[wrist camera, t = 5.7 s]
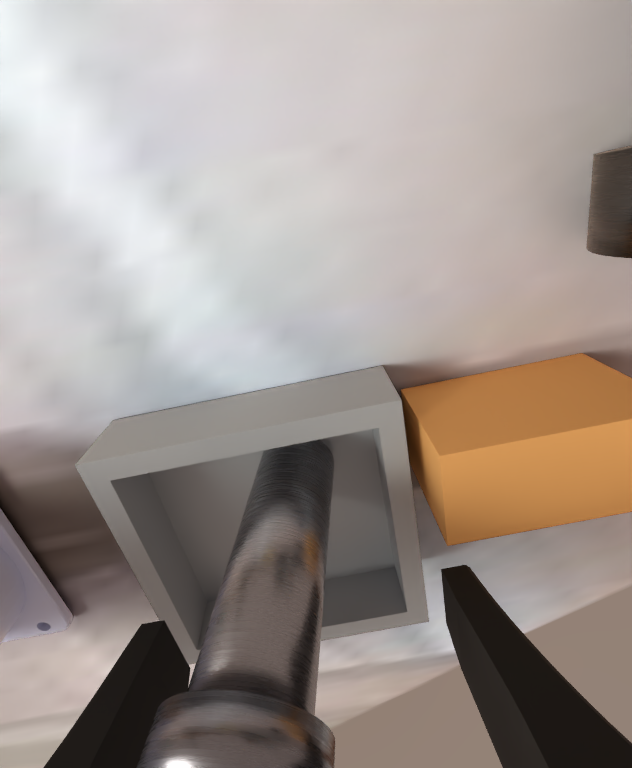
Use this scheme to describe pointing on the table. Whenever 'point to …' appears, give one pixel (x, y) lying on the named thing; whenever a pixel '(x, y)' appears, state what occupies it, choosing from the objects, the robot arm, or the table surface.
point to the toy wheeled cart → (611, 204)
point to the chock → (522, 447)
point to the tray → (232, 489)
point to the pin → (261, 633)
